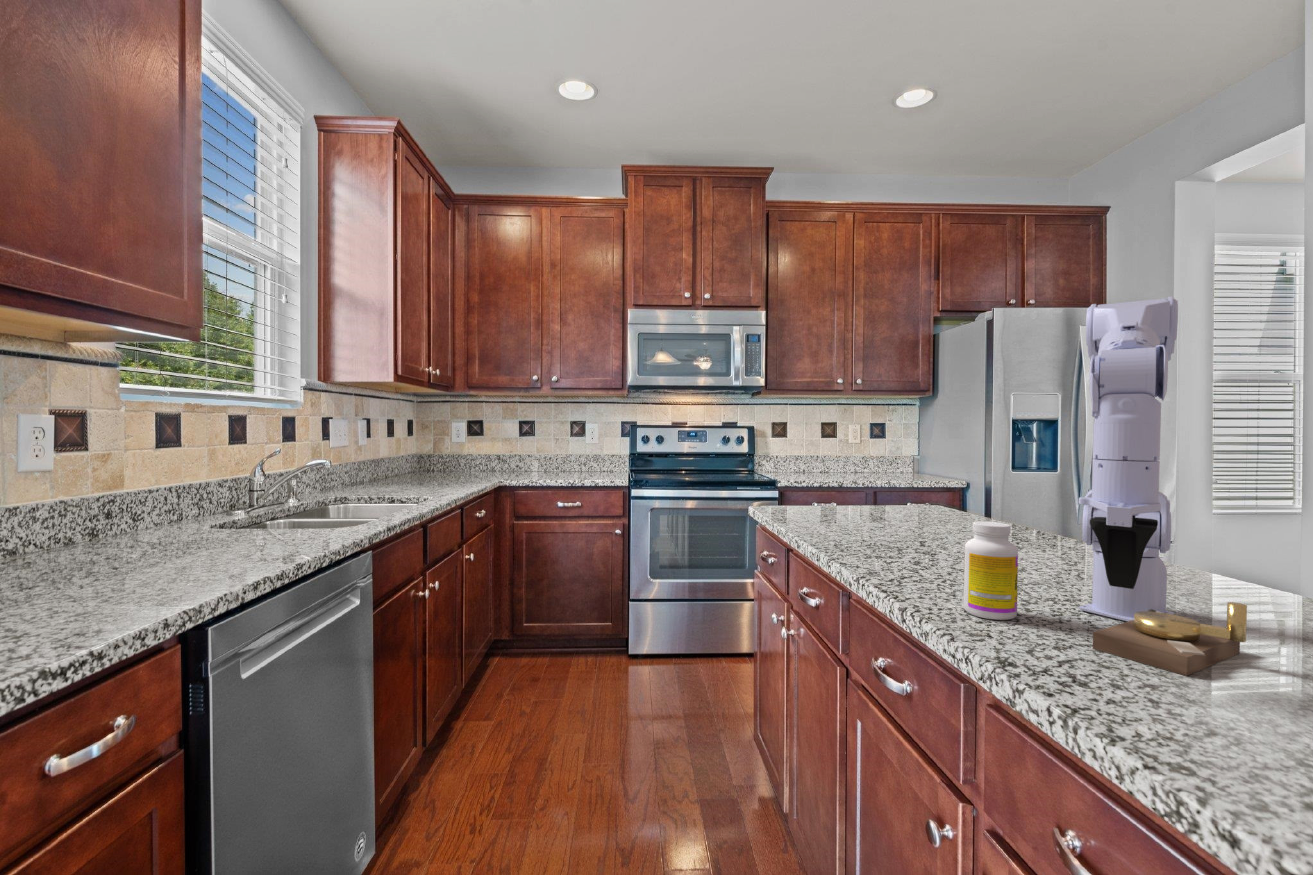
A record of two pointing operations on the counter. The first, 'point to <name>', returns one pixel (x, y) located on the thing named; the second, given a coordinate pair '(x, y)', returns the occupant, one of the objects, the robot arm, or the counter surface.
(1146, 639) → the stand
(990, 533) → the supplement bottle
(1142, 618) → the gold door handle
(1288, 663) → the counter surface
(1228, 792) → the counter surface
